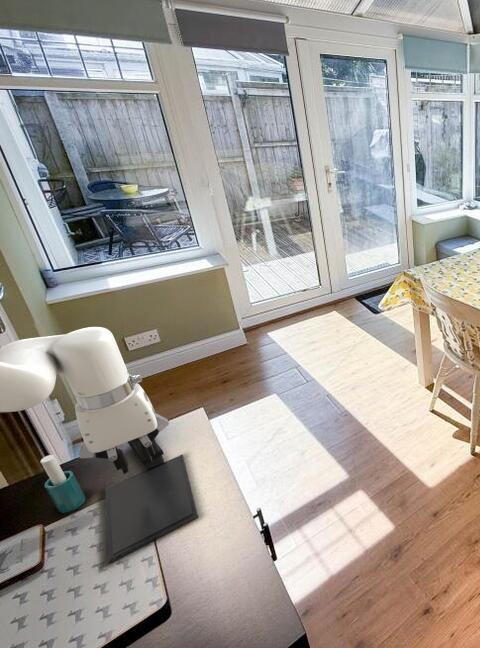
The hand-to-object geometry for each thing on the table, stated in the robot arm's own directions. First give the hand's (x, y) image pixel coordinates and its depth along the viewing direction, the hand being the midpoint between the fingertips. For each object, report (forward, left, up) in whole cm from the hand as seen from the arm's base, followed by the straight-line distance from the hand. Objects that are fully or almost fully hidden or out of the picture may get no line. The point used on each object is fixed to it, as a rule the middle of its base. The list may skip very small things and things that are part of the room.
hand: (137, 463), depth 83 cm
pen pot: (-11, +6, -8) cm, 15 cm away
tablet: (0, -4, -8) cm, 9 cm away
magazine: (+1, +12, -8) cm, 14 cm away
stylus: (-11, +6, -7) cm, 15 cm away
